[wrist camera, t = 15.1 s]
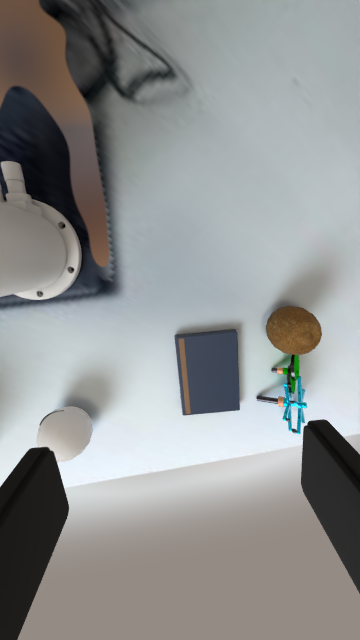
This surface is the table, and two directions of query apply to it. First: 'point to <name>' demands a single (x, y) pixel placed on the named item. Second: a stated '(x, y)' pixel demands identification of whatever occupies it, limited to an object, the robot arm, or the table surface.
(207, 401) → the notebook
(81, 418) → the white sphere
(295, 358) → the stick construction toy
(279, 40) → the table surface
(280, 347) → the fruit
